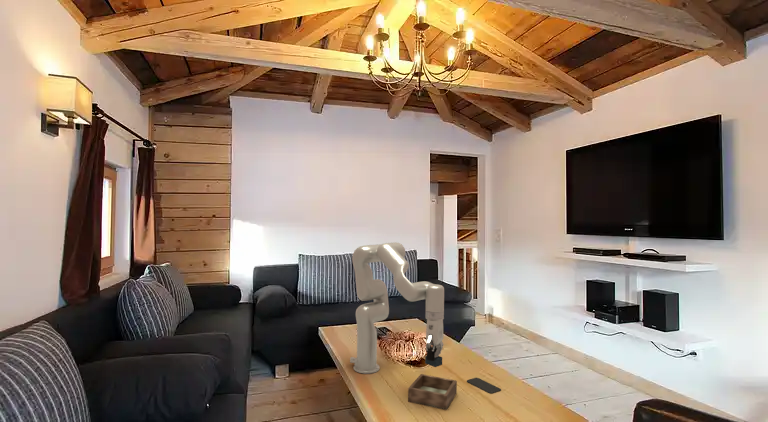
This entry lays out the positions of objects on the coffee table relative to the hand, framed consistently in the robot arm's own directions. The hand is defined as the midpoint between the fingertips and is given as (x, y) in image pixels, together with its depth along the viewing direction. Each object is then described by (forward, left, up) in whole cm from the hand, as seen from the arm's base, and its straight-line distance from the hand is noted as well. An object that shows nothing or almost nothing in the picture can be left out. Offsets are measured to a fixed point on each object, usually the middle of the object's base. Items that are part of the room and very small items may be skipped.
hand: (433, 356), depth 172 cm
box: (0, 0, -17) cm, 17 cm away
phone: (+17, +21, -18) cm, 32 cm away
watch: (0, 0, -3) cm, 3 cm away
